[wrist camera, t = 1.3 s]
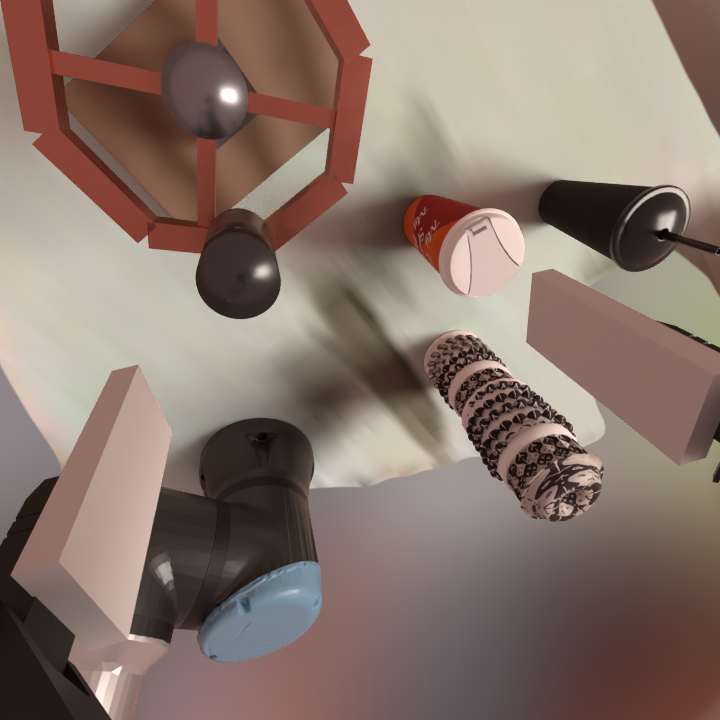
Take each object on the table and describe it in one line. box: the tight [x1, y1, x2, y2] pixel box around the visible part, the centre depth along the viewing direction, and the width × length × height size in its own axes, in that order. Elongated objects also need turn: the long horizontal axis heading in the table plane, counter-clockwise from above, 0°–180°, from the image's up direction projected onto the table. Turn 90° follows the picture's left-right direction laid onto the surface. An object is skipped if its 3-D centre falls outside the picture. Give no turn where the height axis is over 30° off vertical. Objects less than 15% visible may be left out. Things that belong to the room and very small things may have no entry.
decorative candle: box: [424, 330, 604, 522], centre depth 47 cm, size 9×9×25 cm
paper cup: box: [403, 195, 525, 297], centre depth 41 cm, size 8×8×14 cm
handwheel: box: [0, 0, 372, 319], centre depth 23 cm, size 18×18×15 cm
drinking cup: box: [539, 180, 720, 272], centre depth 41 cm, size 8×8×20 cm
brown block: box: [64, 0, 339, 221], centre depth 32 cm, size 20×14×10 cm
